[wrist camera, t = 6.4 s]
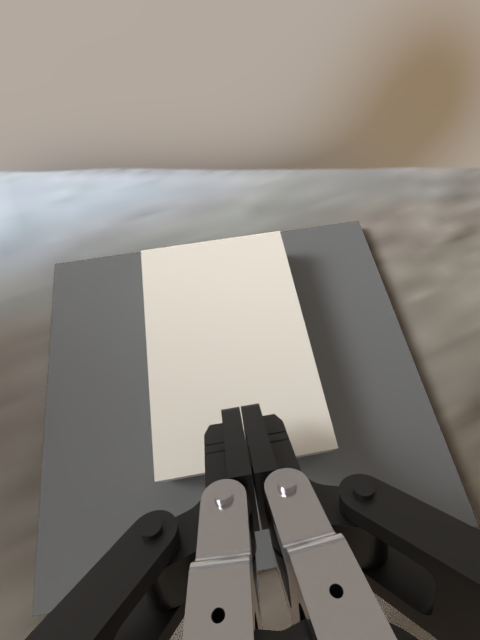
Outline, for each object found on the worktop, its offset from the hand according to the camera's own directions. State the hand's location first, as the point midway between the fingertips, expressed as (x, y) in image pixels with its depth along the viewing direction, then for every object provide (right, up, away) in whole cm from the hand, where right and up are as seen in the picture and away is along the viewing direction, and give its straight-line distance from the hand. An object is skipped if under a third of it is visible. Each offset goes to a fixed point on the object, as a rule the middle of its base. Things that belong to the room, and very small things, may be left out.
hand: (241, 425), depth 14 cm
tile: (0, -3, +2) cm, 4 cm away
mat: (0, +1, +6) cm, 6 cm away
